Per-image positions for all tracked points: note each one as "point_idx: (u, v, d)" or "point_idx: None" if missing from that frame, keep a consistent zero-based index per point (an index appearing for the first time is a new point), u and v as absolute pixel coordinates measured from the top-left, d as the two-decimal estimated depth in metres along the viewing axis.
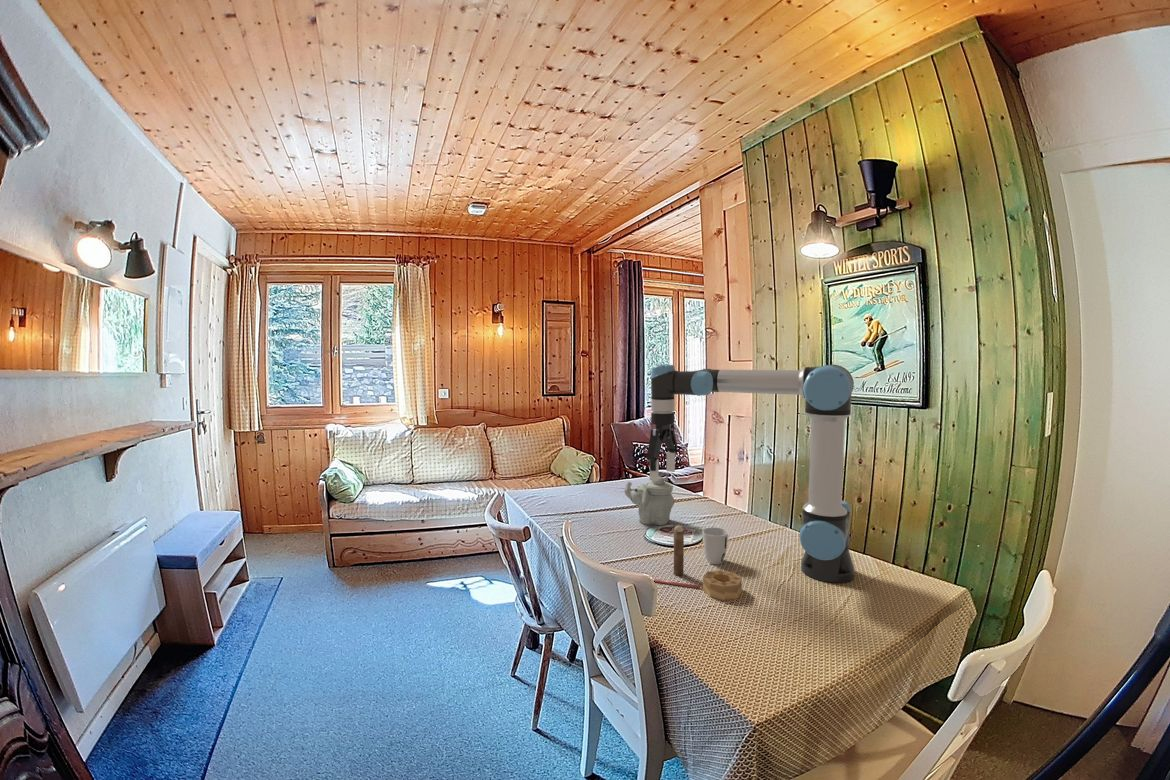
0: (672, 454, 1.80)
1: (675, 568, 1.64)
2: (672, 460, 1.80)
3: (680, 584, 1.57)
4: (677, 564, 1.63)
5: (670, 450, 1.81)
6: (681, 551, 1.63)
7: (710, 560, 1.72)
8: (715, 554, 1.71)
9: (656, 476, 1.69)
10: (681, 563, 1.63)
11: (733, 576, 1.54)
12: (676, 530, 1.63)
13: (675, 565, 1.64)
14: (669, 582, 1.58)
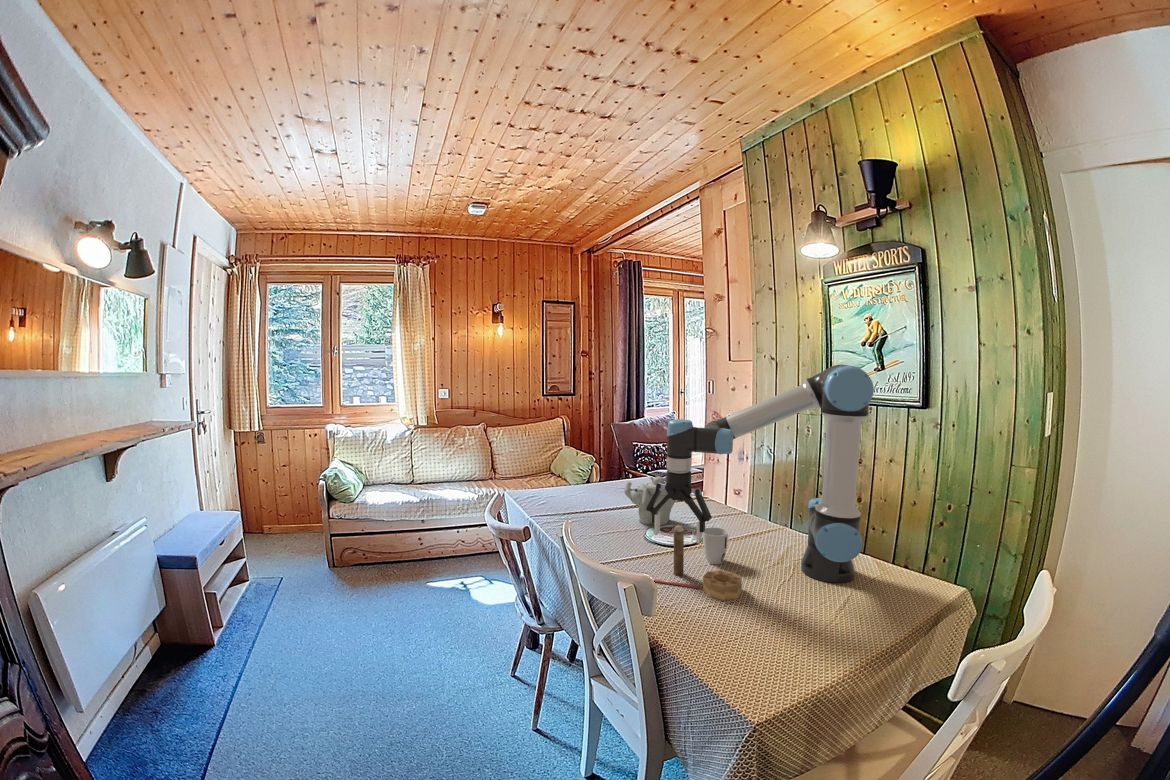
0: None
1: (675, 568, 1.64)
2: None
3: (680, 584, 1.57)
4: (677, 564, 1.63)
5: None
6: (681, 551, 1.63)
7: (710, 560, 1.72)
8: (715, 554, 1.71)
9: None
10: (681, 563, 1.63)
11: (733, 576, 1.54)
12: (676, 530, 1.63)
13: (675, 565, 1.64)
14: (669, 582, 1.58)
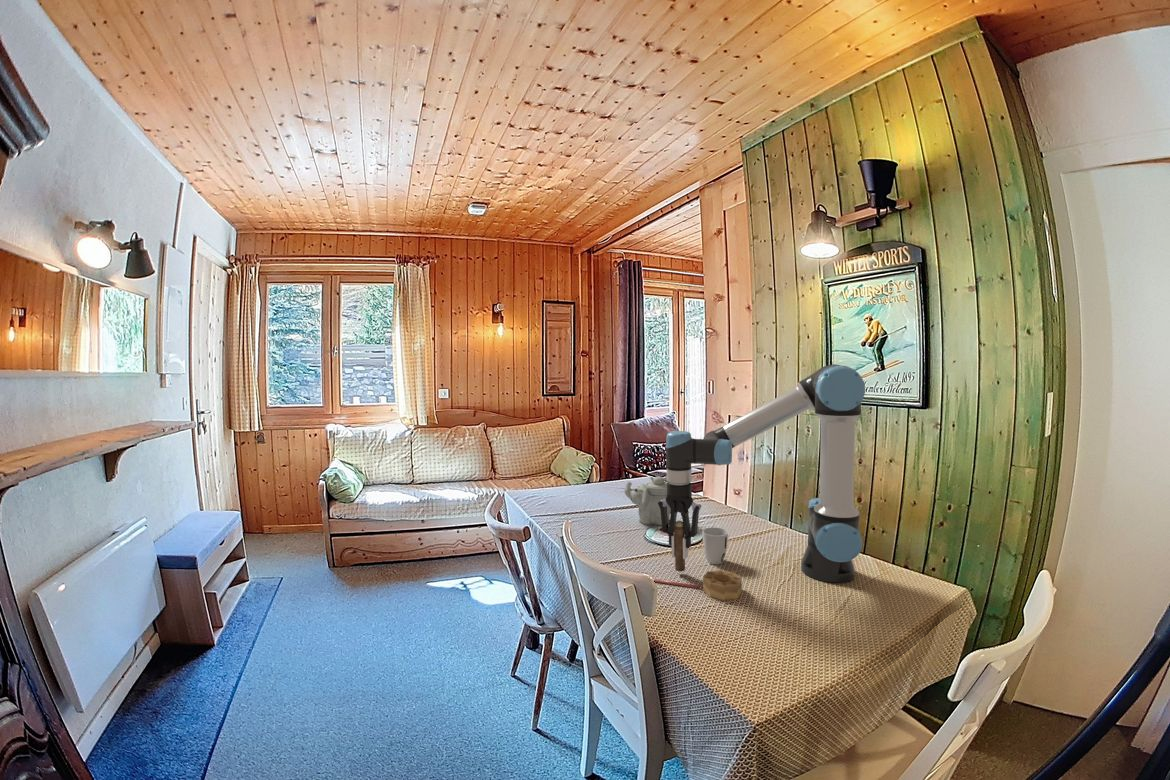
0: None
1: (676, 563, 1.64)
2: None
3: (680, 584, 1.57)
4: (679, 560, 1.63)
5: None
6: (682, 546, 1.63)
7: (710, 560, 1.72)
8: (715, 554, 1.71)
9: None
10: (683, 559, 1.63)
11: (733, 576, 1.54)
12: (677, 525, 1.63)
13: (676, 560, 1.64)
14: (669, 582, 1.58)
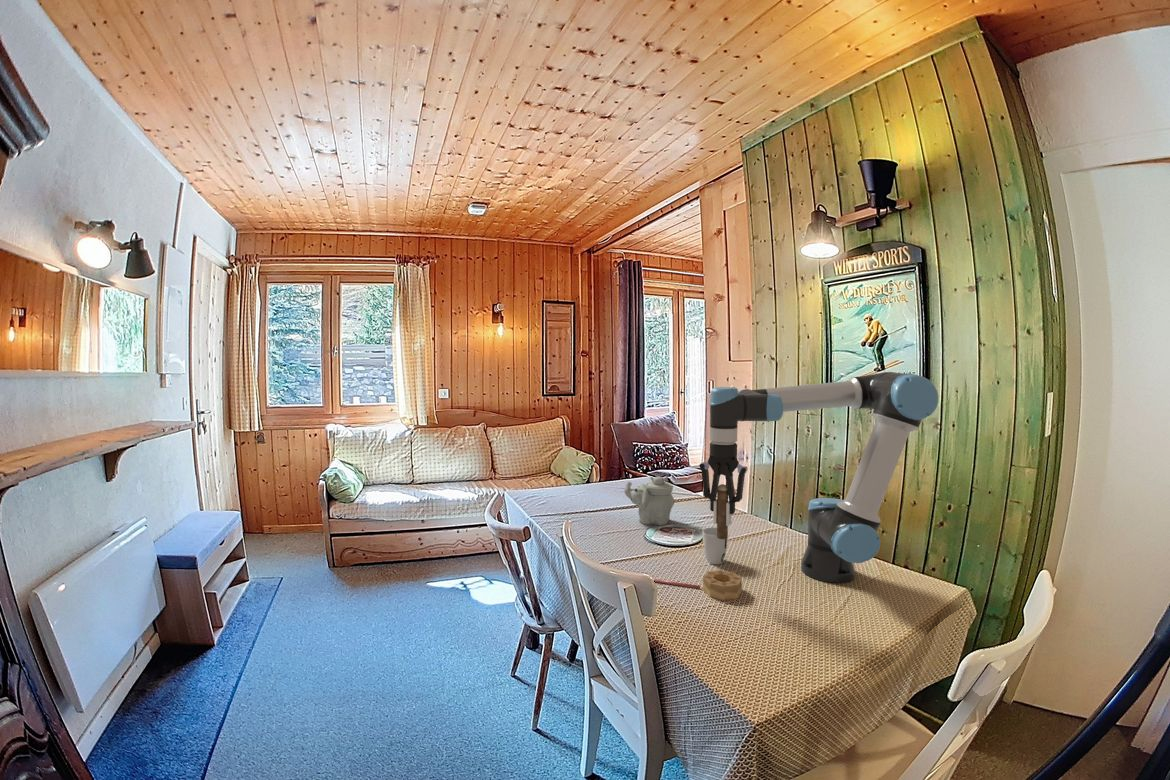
0: None
1: (719, 530, 1.51)
2: None
3: (680, 584, 1.57)
4: (721, 526, 1.50)
5: None
6: (725, 512, 1.50)
7: (710, 560, 1.72)
8: (715, 554, 1.71)
9: None
10: None
11: (733, 576, 1.54)
12: (721, 489, 1.50)
13: (719, 527, 1.51)
14: (669, 582, 1.58)
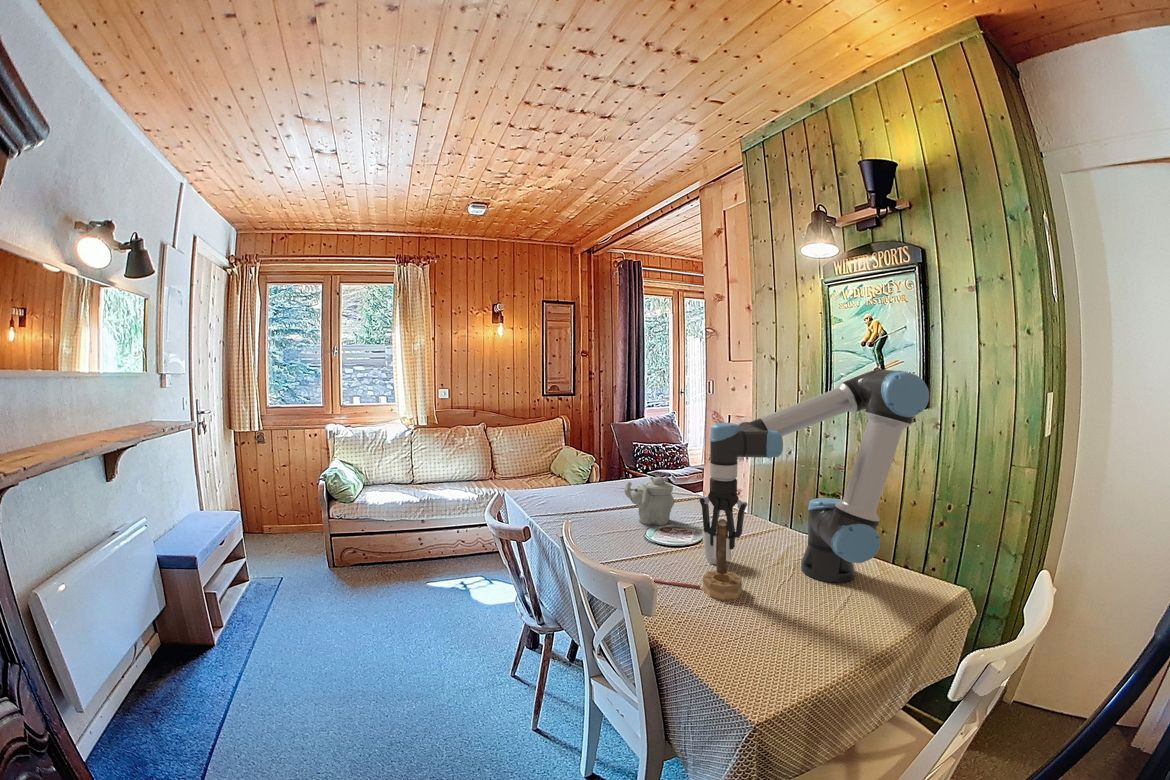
0: None
1: (718, 565, 1.52)
2: None
3: (680, 584, 1.57)
4: (721, 561, 1.51)
5: None
6: (725, 547, 1.51)
7: (710, 560, 1.72)
8: None
9: None
10: (725, 560, 1.51)
11: (733, 576, 1.54)
12: (720, 524, 1.50)
13: (718, 562, 1.52)
14: (669, 582, 1.58)
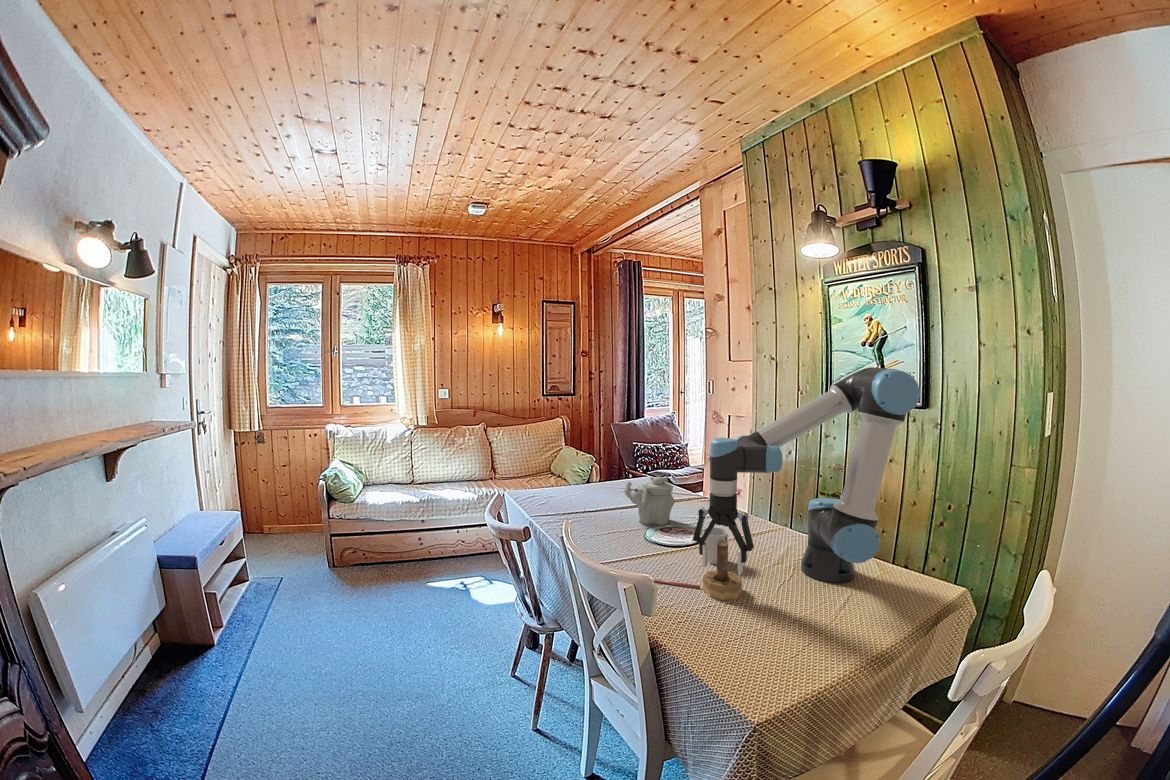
0: None
1: None
2: None
3: (680, 584, 1.57)
4: (721, 581, 1.52)
5: None
6: (725, 567, 1.51)
7: (710, 560, 1.72)
8: (715, 554, 1.71)
9: None
10: (725, 580, 1.52)
11: (733, 576, 1.54)
12: (720, 544, 1.51)
13: None
14: (669, 582, 1.58)
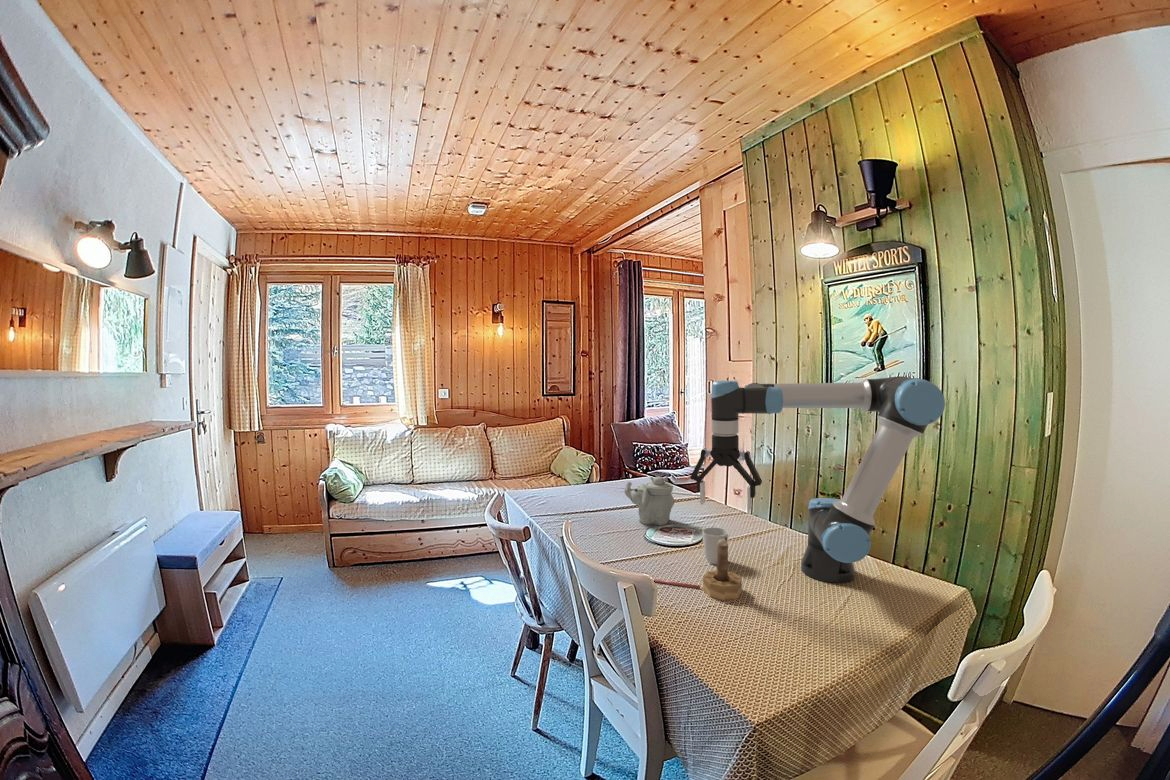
0: None
1: None
2: None
3: (680, 584, 1.57)
4: (721, 581, 1.52)
5: None
6: (725, 567, 1.51)
7: (710, 560, 1.72)
8: (715, 554, 1.71)
9: None
10: (725, 580, 1.52)
11: (733, 576, 1.54)
12: (720, 544, 1.51)
13: None
14: (669, 582, 1.58)
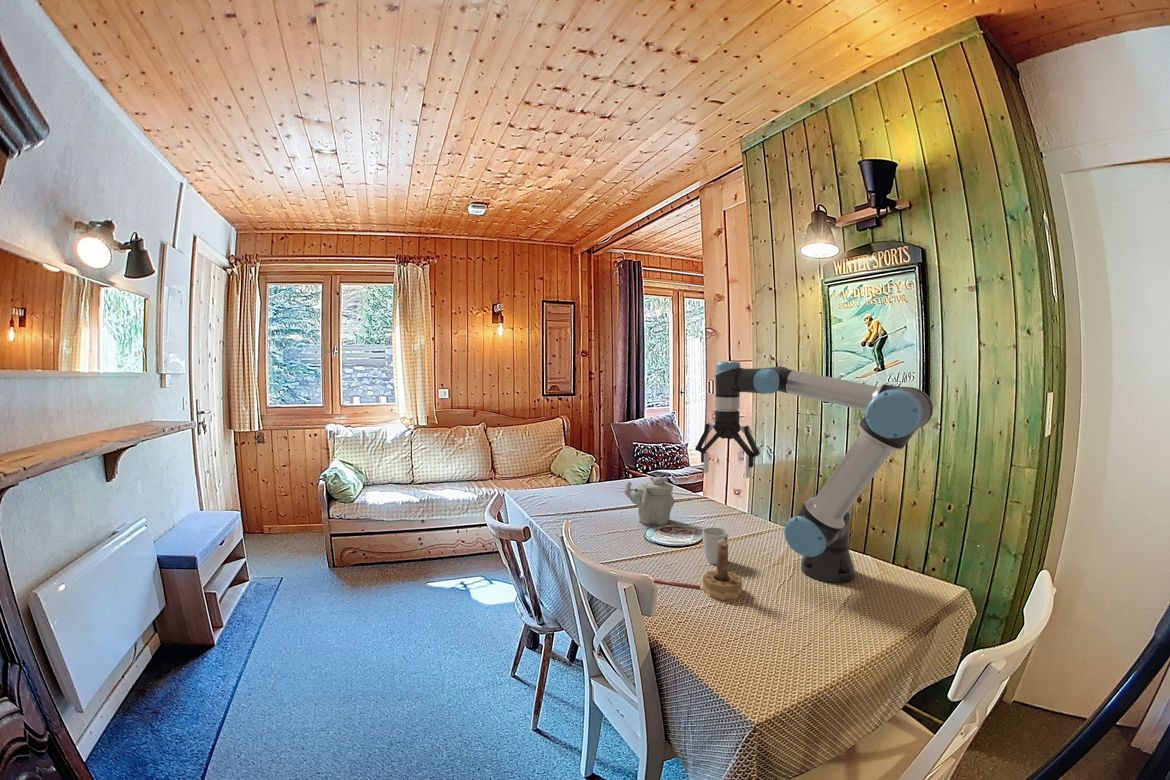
0: None
1: None
2: None
3: (680, 584, 1.57)
4: (721, 581, 1.52)
5: None
6: (725, 567, 1.51)
7: (710, 560, 1.72)
8: (715, 554, 1.71)
9: None
10: (725, 580, 1.52)
11: (733, 576, 1.54)
12: (720, 544, 1.51)
13: None
14: (669, 582, 1.58)
